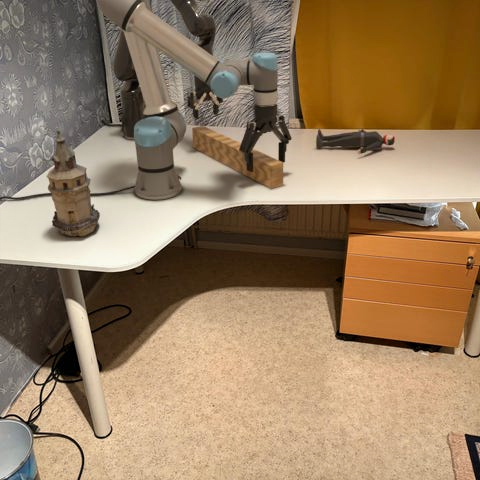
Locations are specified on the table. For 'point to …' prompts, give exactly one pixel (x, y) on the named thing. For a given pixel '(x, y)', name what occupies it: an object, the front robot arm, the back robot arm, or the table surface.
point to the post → (238, 156)
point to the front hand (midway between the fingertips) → (266, 166)
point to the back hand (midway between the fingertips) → (206, 116)
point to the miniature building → (70, 193)
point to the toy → (355, 140)
